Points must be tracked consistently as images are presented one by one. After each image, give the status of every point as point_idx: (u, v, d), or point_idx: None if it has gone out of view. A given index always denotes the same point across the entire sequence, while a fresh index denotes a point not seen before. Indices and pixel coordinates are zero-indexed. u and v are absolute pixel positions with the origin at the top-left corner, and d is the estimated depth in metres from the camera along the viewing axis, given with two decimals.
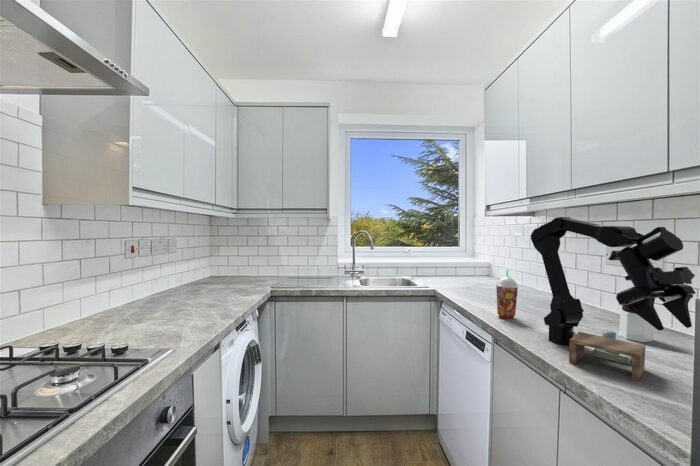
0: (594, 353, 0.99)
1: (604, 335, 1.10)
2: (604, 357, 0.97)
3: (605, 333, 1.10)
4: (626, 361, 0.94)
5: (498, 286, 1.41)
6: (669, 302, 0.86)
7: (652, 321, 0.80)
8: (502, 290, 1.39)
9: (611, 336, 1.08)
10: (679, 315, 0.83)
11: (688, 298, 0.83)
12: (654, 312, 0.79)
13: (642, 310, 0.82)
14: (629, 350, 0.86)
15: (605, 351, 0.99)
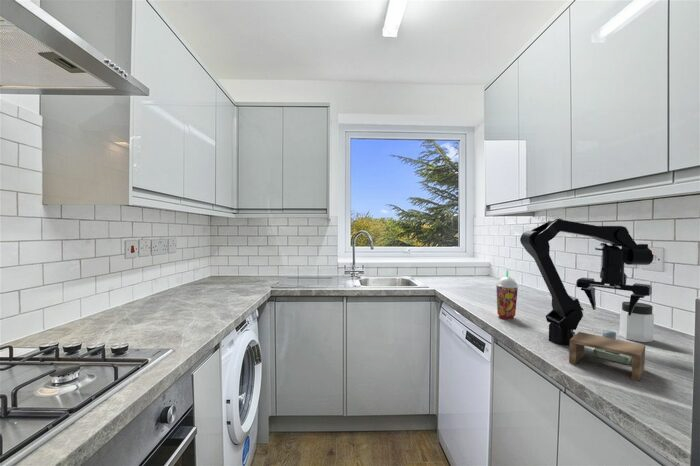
0: (594, 353, 0.99)
1: (604, 335, 1.10)
2: (604, 357, 0.97)
3: (605, 333, 1.10)
4: (626, 361, 0.94)
5: (498, 286, 1.41)
6: (592, 290, 1.12)
7: None
8: (502, 290, 1.39)
9: (611, 336, 1.08)
10: (594, 300, 1.12)
11: None
12: None
13: None
14: (629, 350, 0.86)
15: (605, 351, 0.99)
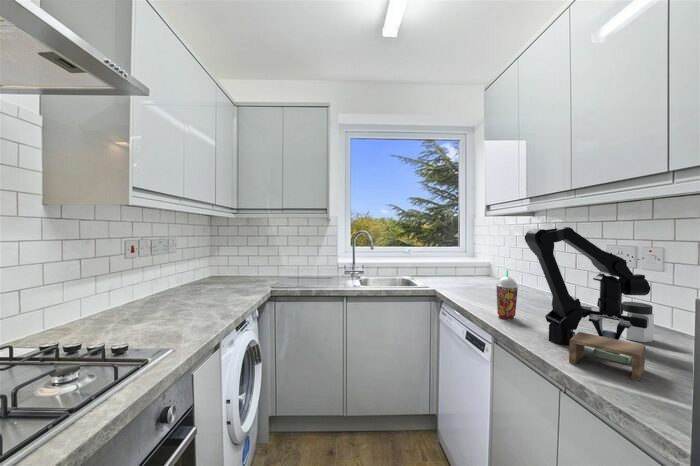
0: (594, 353, 0.99)
1: (604, 335, 1.10)
2: (604, 357, 0.97)
3: (605, 333, 1.10)
4: (626, 361, 0.94)
5: (498, 286, 1.41)
6: (600, 321, 1.11)
7: (619, 338, 1.08)
8: (502, 290, 1.39)
9: (611, 336, 1.08)
10: (601, 331, 1.11)
11: None
12: None
13: None
14: (629, 350, 0.86)
15: (605, 351, 0.99)
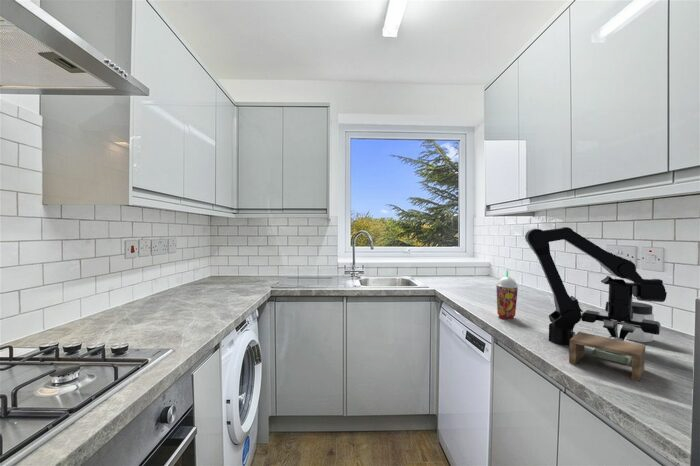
0: (594, 353, 0.99)
1: None
2: (604, 357, 0.97)
3: None
4: (626, 361, 0.93)
5: (498, 286, 1.41)
6: (615, 327, 1.05)
7: None
8: (502, 290, 1.39)
9: None
10: None
11: None
12: None
13: None
14: (629, 350, 0.86)
15: (605, 351, 0.99)
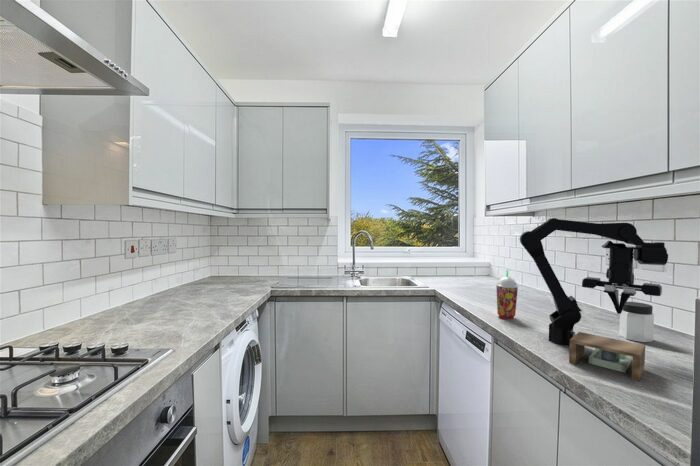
0: (589, 360, 0.94)
1: None
2: (600, 365, 0.92)
3: None
4: (623, 369, 0.88)
5: (498, 286, 1.41)
6: (616, 292, 1.04)
7: (623, 307, 1.03)
8: (502, 290, 1.39)
9: None
10: (618, 303, 1.04)
11: None
12: None
13: None
14: (629, 350, 0.86)
15: (601, 358, 0.94)
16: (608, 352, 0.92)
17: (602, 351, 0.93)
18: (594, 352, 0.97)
